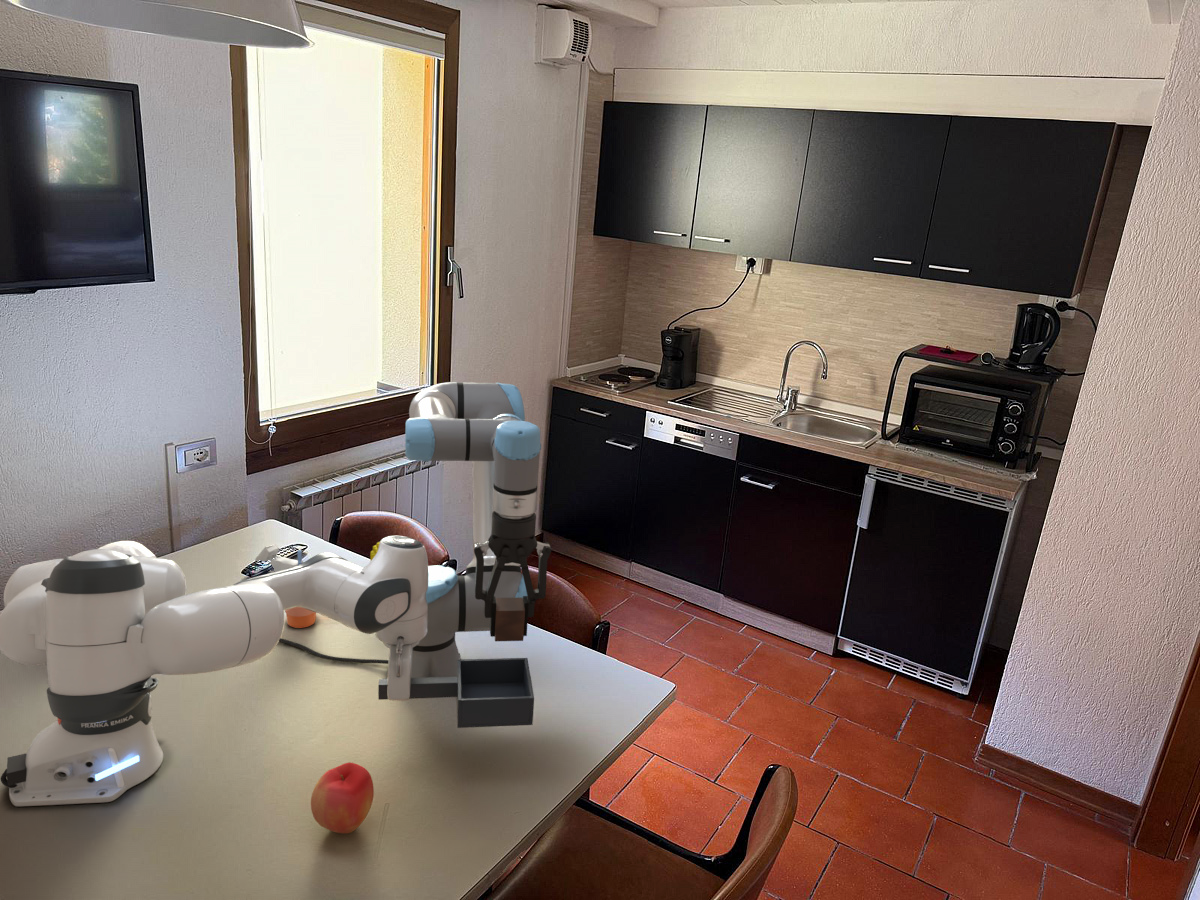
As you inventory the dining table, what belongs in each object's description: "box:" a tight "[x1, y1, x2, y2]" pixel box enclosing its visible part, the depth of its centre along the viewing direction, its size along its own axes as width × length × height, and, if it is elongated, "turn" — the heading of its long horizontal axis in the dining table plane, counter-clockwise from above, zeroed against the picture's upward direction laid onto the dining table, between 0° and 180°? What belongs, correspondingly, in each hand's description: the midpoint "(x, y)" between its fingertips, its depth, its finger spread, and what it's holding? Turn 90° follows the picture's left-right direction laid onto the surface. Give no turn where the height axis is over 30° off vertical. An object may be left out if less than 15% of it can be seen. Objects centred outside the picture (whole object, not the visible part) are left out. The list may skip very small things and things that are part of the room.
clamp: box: [254, 544, 304, 573], centre depth 219 cm, size 20×4×7 cm, turn 62°
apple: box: [310, 762, 375, 834], centre depth 137 cm, size 10×10×10 cm
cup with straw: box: [284, 549, 317, 629], centre depth 196 cm, size 9×9×18 cm
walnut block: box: [494, 598, 525, 642], centre depth 152 cm, size 5×5×6 cm
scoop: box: [377, 657, 535, 729], centre depth 155 cm, size 27×13×6 cm, turn 100°
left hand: (401, 692), depth 153 cm, fingers closed on scoop
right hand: (508, 632), depth 153 cm, fingers closed on walnut block, 5 cm apart
